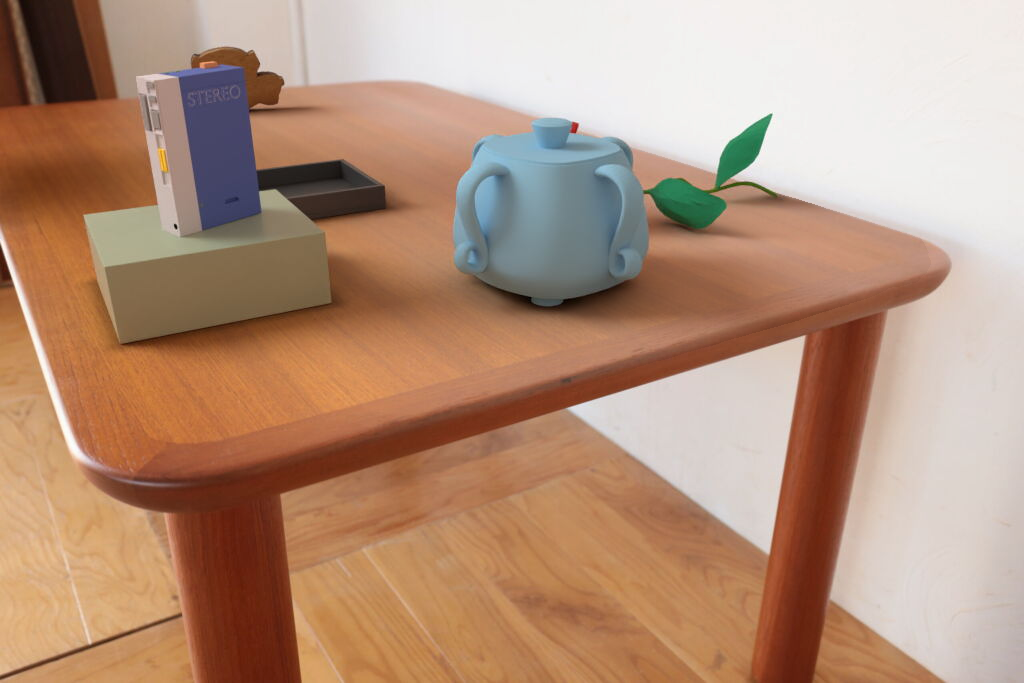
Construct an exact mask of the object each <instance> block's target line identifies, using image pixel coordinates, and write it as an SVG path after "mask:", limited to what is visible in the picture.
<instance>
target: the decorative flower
mask: <svg viewBox="0 0 1024 683" xmlns="http://www.w3.org/2000/svg"><path fill="white" fill-rule="evenodd" d="M772 118H773V113H769V114H767V115H766V116H764V117H762V118H760V119H758V120H757V121H755V122H753V123H752V124H751V125H749V126H748V127H747V128H745V129H744V130H743V131H742V132H740V133H739V134H738V135H737V136H735V137H734V138H732V139H730V140H729V141H728V143H727V144H726V145H725V146H724V149H723V151H722V152H721V154H720V156H719V161H718V166H717V171H716V177H715V184H714V187H713V188H711V189H701V188H699V187H697V186H694V185H693V184H692V183H690V181H687V180H686V179H685V178H683V177H677V178H673V177H667V178H664V179H661V181H660V182H658V183H657V184H656V185H655V186H654V187H652V188H651V187H650V188H648V189H643V194H644V195H649V196H650V197H651V198H652V201H653V202H654V204H655V207H656V209H658V211H659V212H660V213H661V214H663V216H665V217H666V218H668V219H670V220H671V221H674V222H675V223H677V224H680V225H683V226H687V227H690V228H693V229H695V230H703V229H705V228H707V227H709V226H710V225H712V224H713V223H714V222H715V221H716V220H717V219H718V218H720V216H721V214H723V212H725V211H726V209H727V206H728V204H727V202H726V201H725V199H723V198H721V197H719V196H717V195H714V193H719V192H722V191H725V190H728V189H731V188H735V187H739V186H744V187H745V186H746V187H753V188H755V189H758V190H761V191H763V192H764V193H766V194H768V195H769V196H772V197H774V198H777V197H778V195H777V193H776V192H774V191H772V190H770V189H768V188H767V187H765V186H763V185H760V184H759V183H756V182H753V181H749V180H748V181H746V180H745V181H735V182H732V183H729V184H725V183H726V182H727V181H729V180H730V179H731V178H733V177H735V176H736V175H738V174H740V173H741V172H743V171H744V170H746V169H747V168H749V167H750V166H751V165H752V164H753V163H754V162H755V161H756V159H757V157H758V156H759V154H760V151H761V149H762V146H763V144H764V139H765V136H766V134H767V131H768V128H769V127H770V124H771V121H772ZM571 122H572V128H571V131H570V133H574V134H577V132H578V129H579V127H580V123H579V122H576V121H571ZM724 184H725V185H724Z"/></svg>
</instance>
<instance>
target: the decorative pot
mask: <svg viewBox="0 0 1024 683" xmlns="http://www.w3.org/2000/svg"><path fill="white" fill-rule="evenodd" d="M572 122H573V121H571V120H569V119H566V118H562V117H542V118H537V119H535V120H533V121H531V122H530V123H531V128H532V131H530V132H521V133H517V134H511V135H502V134H495V133H494V134H489V135H486V136H484V137H482V138H480V139H479V140H478V141H477V142H476V143H475V144H474V146H473V149H472V152H471V153H472V154H471V165H470V168H469V169H468V170H467V171H465V173H464V174H462V176H461V177H460V180H459V181H458V183H457V186H456V191H455V203H456V206H455V212H454V218H453V227H452V243H453V247H454V250H455V251H454V254H453V262H454V266H455V267H456V269H457V270H458V271H459V272H460V273H462V274H465V275H470V276H475V277H477V278H478V279H479V280H481V281H482V282H484V283H486V284H488V285H490V286H492V287H494V288H497V289H500V290H503V291H506V292H510V293H513V294H517V295H522V296H524V297H531V298H530V301H531V303H533V304H535V305H537V306H540V307H554V306H558V305H561V304H562V303H563V302H564V300H567V299H574V298H579V297H580V298H581V297H584V296H587V295H591V294H595V293H598V292H601V291H604V290H607V289H610V288H612V287H615V286H617V285H620V284H622V283H623V282H625V281H628V280H629V281H630V280H633V279H635V278H636V277H638V276H639V274H641V272H642V269H643V262H644V261H645V259H646V257H647V254H648V252H649V249H650V231H649V222H648V215H647V214H648V213H647V210H646V205H645V194H643V190H644V189H643V186H642V184H641V182H640V180H639V178H638V177H637V176H636V175H635V173H634V170H633V168H634V154H633V151H632V149H631V147H630V145H629V144H628V143H627V142H625V141H624V140H622V139H620V138H618V137H614V136H602V137H599V138H598V137H596V136H595V137H594V136H590V135H585V134H581V133H576V134H574V133H570V131H571V128H572Z"/></svg>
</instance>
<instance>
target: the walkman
mask: <svg viewBox="0 0 1024 683" xmlns="http://www.w3.org/2000/svg"><path fill="white" fill-rule="evenodd" d="M135 81H136V87H137V93H138V98H139V103H140V104H139V106H140V110H141V115H142V116H141V117H142V122H143V128H144V133H145V138H146V143H147V144H146V145H147V149H148V155H149V161H150V167H151V172H152V173H151V174H152V179H153V183H154V191H155V195H156V200H157V205H158V207H159V213H160V219H161V225H162V230H164V231H167V232H170V234H172V235H176V236H179V237H183V236H186V235H189V234H193V233H196V232H199V231H202V230H206V229H209V228H212V227H216V226H219V225H222V224H226V223H229V222H232V221H235V220H239V219H242V218H245V217H249V216H252V215H255V214H258V213H261V212H262V211H261V203H260V195H259V187H258V179H257V171H256V170H257V164H256V156H255V147H254V141H253V140H254V139H253V133H252V131H253V130H252V122H251V117H250V116H251V115H250V109H249V107H248V99H247V91H246V83H245V75H244V68H243V67H236V66H229V65H218V64H217V62H214V61H211V62H204V63H200V68H193V69H192V68H187V69H180V70H179V69H178V70H172V71H166V72H158V73H153V74H144V75H137V76H135Z"/></svg>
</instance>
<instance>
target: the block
mask: <svg viewBox="0 0 1024 683" xmlns="http://www.w3.org/2000/svg"><path fill="white" fill-rule="evenodd" d="M259 195H260V203H261V211H262V212H261V213H258V214H255V215H252V216H249V217H245V218H242V219H239V220H235V221H232V222H229V223H226V224H222V225H219V226H216V227H212V228H209V229H206V230H202V231H199V232H196V233H193V234H189V235H186V236H183V237H179V236H176V235H172V234H170V232H167V231H164V230H162V225H161V219H160V213H159V207H158V204H154V205H147V206H146V205H145V206H139V207H132V208H124V209H117V210H109V211H101V212H95V213H94V212H93V213H87V214H83V219H84V224H85V225H84V226H85V229H86V234H87V238H88V244H89V249H90V253H91V257H92V263H93V268H94V272H95V276H96V280H97V281H96V282H97V284H98V287H99V290H100V292H101V295H102V298H103V301H104V304H105V306H106V309H107V312H108V315H109V317H110V320H111V324H112V326H113V328H114V331H115V334H116V337H117V339H118V342H119V344H120V345H123V344H129V343H134V342H139V341H143V340H150V339H154V338H159V337H164V336H168V335H169V336H170V335H175V334H179V333H184V332H189V331H195V330H200V329H206V328H210V327H216V326H220V325H225V324H230V323H231V324H232V323H236V322H242V321H246V320H252V319H257V318H263V317H267V316H272V315H278V314H282V313H289V312H293V311H297V310H303V309H309V308H313V307H319V306H324V305H329V304H332V292H331V282H330V281H331V280H330V272H329V271H330V269H329V260H328V250H327V237H326V232H325V230H323V229H322V228H321V227H320V226H319V225H317V223H315V222H314V221H313V220H312V219H309V218H308V217H307V216H306V215H305V214H303V213H302V212H301V211H300V210H299V209H298V208H297V207H295V206H294V205H293V204H292V203H291V202H290V201H289V200H287V199H286V198H285V197H284V196H283V195H282V194H281V193H279V192H278V191H277V190H276V189H274V190H266V191H259Z"/></svg>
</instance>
